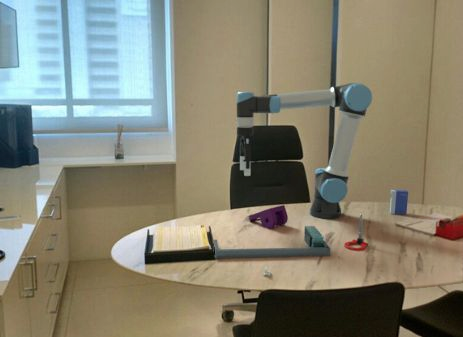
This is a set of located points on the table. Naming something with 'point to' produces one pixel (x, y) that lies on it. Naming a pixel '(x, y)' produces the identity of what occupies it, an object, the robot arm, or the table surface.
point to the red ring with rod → (359, 240)
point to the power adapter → (266, 271)
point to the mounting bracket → (271, 217)
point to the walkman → (398, 201)
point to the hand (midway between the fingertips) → (245, 172)
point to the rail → (310, 237)
